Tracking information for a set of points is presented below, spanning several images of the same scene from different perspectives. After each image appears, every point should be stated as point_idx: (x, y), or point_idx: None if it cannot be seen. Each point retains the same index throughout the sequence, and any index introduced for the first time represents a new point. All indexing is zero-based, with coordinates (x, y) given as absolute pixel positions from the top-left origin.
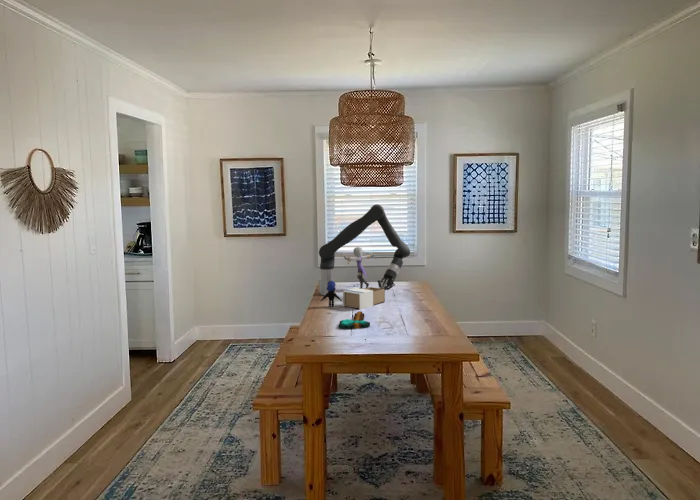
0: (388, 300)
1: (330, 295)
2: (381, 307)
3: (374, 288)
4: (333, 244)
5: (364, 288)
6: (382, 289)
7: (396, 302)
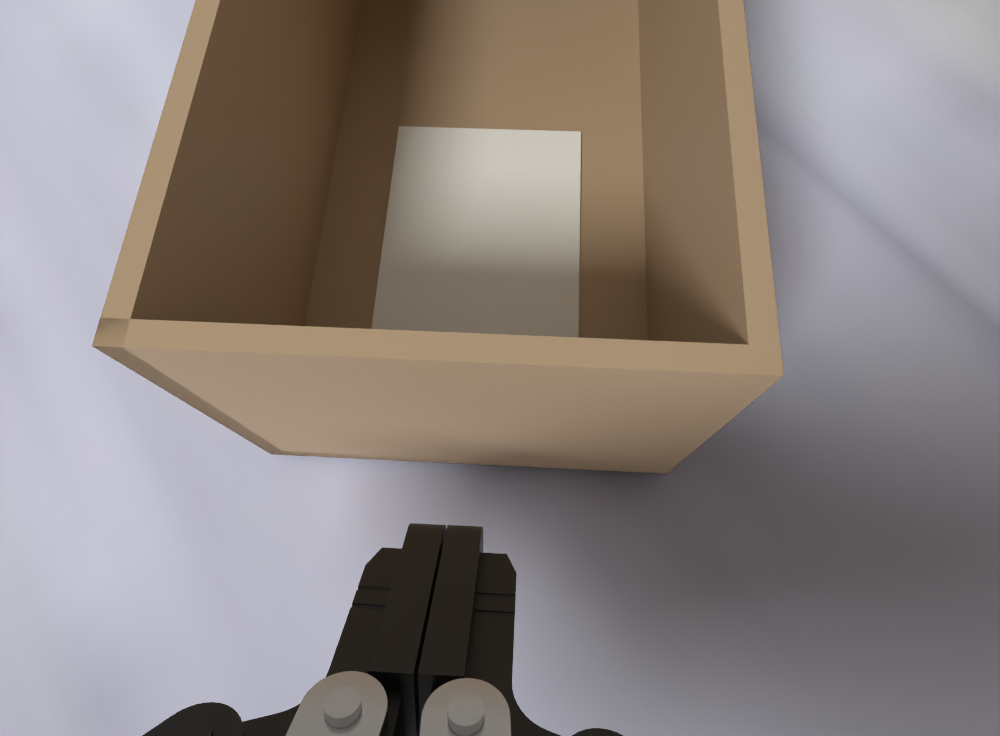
0: (299, 696)
1: None
2: (138, 99)
3: (560, 345)
4: None
5: (746, 66)
6: (130, 233)
7: (32, 601)
